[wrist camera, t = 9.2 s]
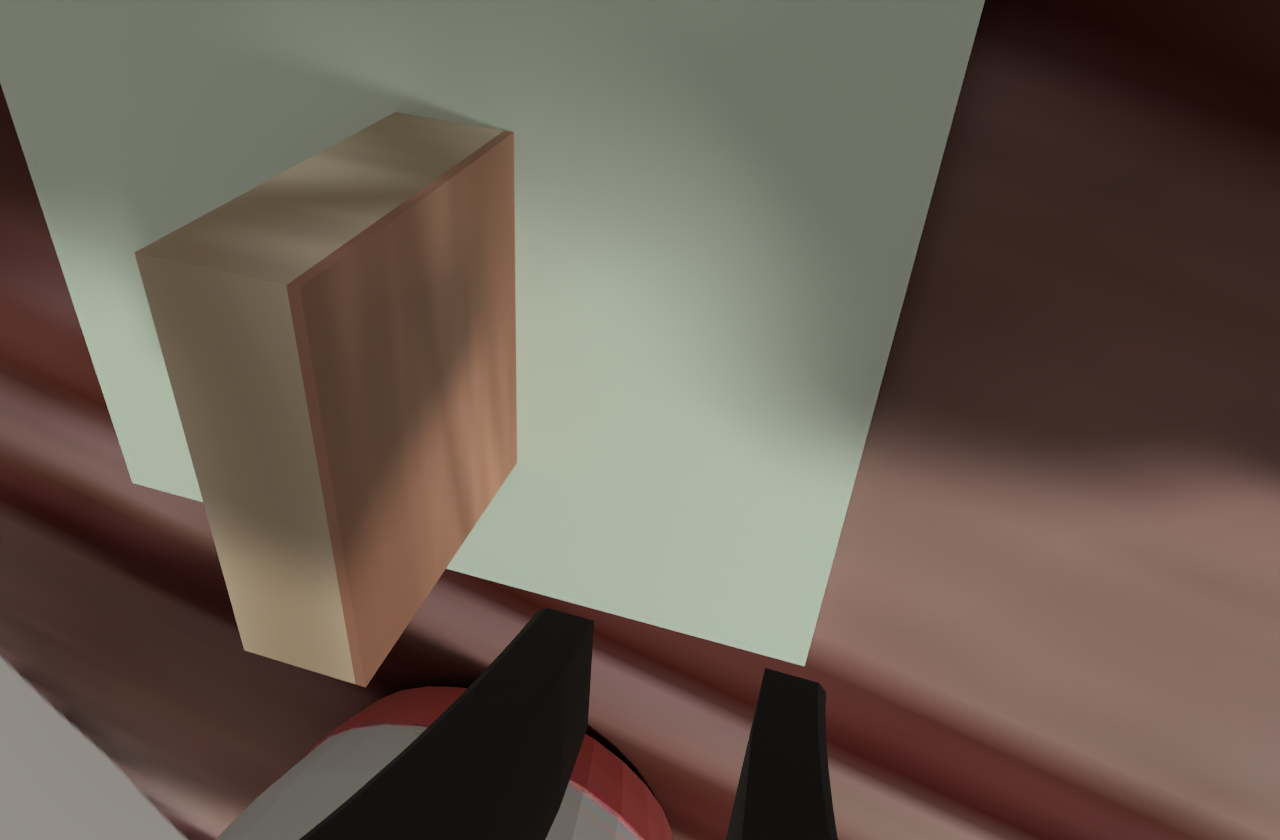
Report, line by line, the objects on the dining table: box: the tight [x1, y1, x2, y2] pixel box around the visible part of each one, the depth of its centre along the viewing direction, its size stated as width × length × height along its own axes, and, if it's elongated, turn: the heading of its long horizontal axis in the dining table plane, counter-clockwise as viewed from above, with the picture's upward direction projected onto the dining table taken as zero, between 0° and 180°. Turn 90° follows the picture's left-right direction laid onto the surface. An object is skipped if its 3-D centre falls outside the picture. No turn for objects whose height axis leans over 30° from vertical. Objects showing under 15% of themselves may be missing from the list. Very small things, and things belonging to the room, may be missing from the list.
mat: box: [0, 0, 985, 666], centre depth 20 cm, size 20×18×1 cm
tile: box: [134, 112, 517, 687], centre depth 17 cm, size 2×8×7 cm, turn 176°
